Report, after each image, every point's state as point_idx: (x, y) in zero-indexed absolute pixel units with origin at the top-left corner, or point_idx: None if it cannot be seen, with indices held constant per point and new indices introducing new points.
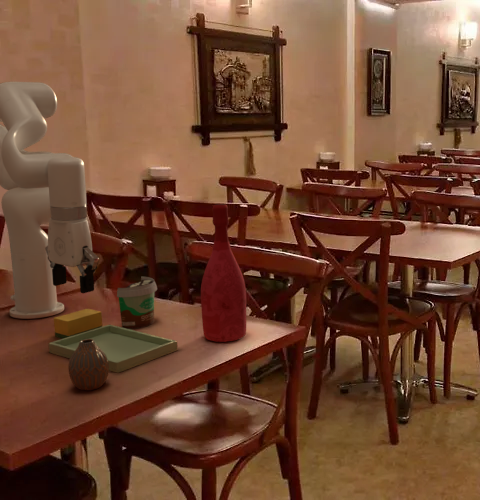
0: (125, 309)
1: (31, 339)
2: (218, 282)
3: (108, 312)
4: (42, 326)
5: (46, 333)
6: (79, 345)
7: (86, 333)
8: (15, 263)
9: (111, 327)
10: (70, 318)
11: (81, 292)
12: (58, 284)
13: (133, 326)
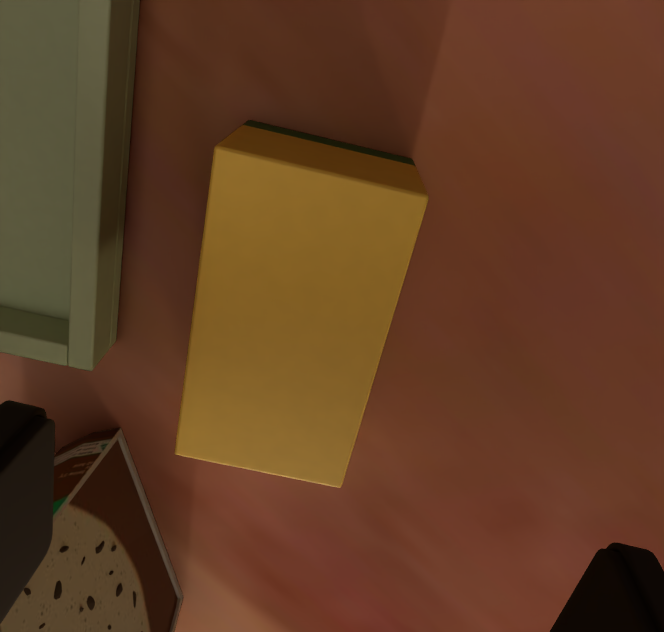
0: None
1: (553, 38)
2: None
3: (419, 616)
4: (658, 320)
5: (529, 203)
6: None
7: (76, 152)
8: None
9: (47, 336)
10: (258, 230)
11: (17, 403)
12: (586, 581)
13: (58, 454)
